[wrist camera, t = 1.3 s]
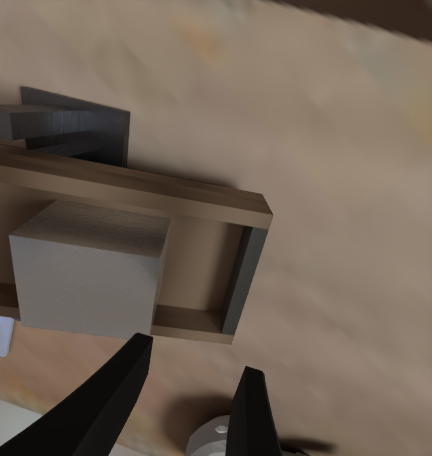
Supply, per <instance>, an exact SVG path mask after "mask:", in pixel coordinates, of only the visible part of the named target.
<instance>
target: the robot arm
mask: <svg viewBox="0 0 432 456" xmlns="http://www.w3.org/2000/svg"><path fill="white" fill-rule="evenodd" d="M14 320H15V319H12V318H10V317H2V316H0V356H1V357H5V356H6V355H7V354H8V351H9V346H10V340H11V335H12V330H13V325H14ZM152 343H153V337H151V336H148V335H145V334H142V333H135V334H134V335H133V336H132V337H131V338H130V340H129V341H128V342H127V343H126V344H125V345H124V346H123V347H122V348H121V349H120V350H119V351H118V352H117V353H116V354H115V355H114V356H113V357H112V358H111V359H110V360H109V361H108V362H106V363H105V364H104V365H103V366H102V367H101V368H100V369H99V370H98V371H97V372H95V373H94V374H93V375H92V376H91V377H90V378H89V379H88V380H87V381H85V382H84V383H83V384H82V385H81V386H80V387H78V388H77V389H76V390H75V391H73V392H72V393H71V394H70V395H69V396H67V397H66V398H65V399H64V400H63V401H61V402H60V403H59V404H58V405H56V406H55V407H54V408H53V409H51V410H50V411H49V412H47V413H46V414H45V415H43V416H42V417H41V418H40V419H38V420H37V421H35V422H34V423H33V424H31V425H30V426H29V427H27V428H26V429H25V430H23V431H22V432H20V433H19V434H17V435H16V436H15V437H13V438H12V439H10V440H9V441H7V442H6V443H4V444H3V445H2V446H0V456H108V455H109V453H110V452H111V450H112V448H113V446H114V444H115V442H116V440H117V438H118V436H119V434H120V433H121V431H122V429H123V427H124V425H125V423H126V421H127V419H128V417H129V415H130V413H131V411H132V410H133V408H134V406H135V404H136V402H137V399H138V397H139V394H140V392H141V390H142V387H143V385H144V382H145V380H146V377H147V375H148V371H149V364H150V357H151V350H152ZM225 456H283V454H282V451H281V447H280V443H279V440H278V436H277V432H276V429H275V425H274V421H273V417H272V412H271V408H270V403H269V399H268V394H267V388H266V382H265V376H264V373H263V371H260V370H257V369H254V368H251V367H248V366H245V369H244V372H243V374H242V377H241V380H240V382H239V385H238V388H237V390H236V393H235V396H234V398H233V401H232V407H231V413H230V418H229V424H228V430H227V439H226V451H225Z"/></svg>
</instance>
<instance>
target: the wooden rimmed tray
mask: <svg viewBox="0 0 432 456" xmlns="http://www.w3.org/2000/svg"><path fill="white" fill-rule="evenodd" d="M56 200H64V201H70V202H75V203H81V204H87V205H93V206H99V207H104V208H110V209H116V210H122V211H128V212H133V213H139V214H145V215H151V216H157V217H162V218H168V219H171V224H170V231H169V237H168V244H167V251H166V258H165V265H164V271H163V278H162V285H161V291H160V295H159V300H158V304H157V308H156V312H155V317H154V321H153V325H152V330H151V334H150V335H156V336H165V337H173V338H181V339H189V340H197V341H205V342H213V343H222V344H230V345H231V344H232V341H233V338H234V335H235V332H236V329H237V325H238V322H239V319H240V316H241V313H242V310H243V307H244V304H245V301H246V298H247V295H248V292H249V289H250V285H251V282H252V279H253V276H254V273H255V270H256V267H257V264H258V261H259V258H260V255H261V252H262V248H263V245H264V242H265V239H266V236H267V233H268V230H269V227H270V224H271V221H272V218H273V213H272V212H271V210H270V208H269V206H268V204H267V202H266V200H265V198H264V196H263V195H262V194H259V193H254V192H249V191H243V190H238V189H233V188H227V187H222V186H217V185H212V184H206V183H201V182H196V181H191V180H185V179H180V178H175V177H170V176H164V175H159V174H154V173H149V172H143V171H138V170H133V169H128V168H122V167H117V166H112V165H106V164H101V163H96V162H91V161H85V160H80V159H75V158H70V157H64V156H59V155H54V154H49V153H43V152H38V151H33V150H28V149H22V148H17V147H12V146H6V145H1V144H0V316H2V317H10V318H18V319H21V317H20V310H19V303H18V296H17V289H16V282H15V275H14V268H13V261H12V254H11V247H10V240H9V235H10V234H11V233H12V232H14V231H15V230H16V229H18V228H19V227H21V226H22V225H23V224H25V223H26V222H27V221H29V220H30V219H32V218H33V217H34V216H36V215H37V214H38V213H40V212H41V211H42V210H44V209H45V208H47V207H48V206H49V205H51V204H52V203H53V202H55V201H56Z"/></svg>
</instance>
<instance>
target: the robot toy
mask: <svg viewBox="0 0 432 456" xmlns="http://www.w3.org/2000/svg"><path fill="white" fill-rule="evenodd" d="M229 418H230V415H226V416H218V417H216V418H214V419H212V420H211V421H209V422H207V423H206V424H204V425H203V426H201V427H200V428H199V429H198V430H197V431H195V432H194V433H193V434H192V435H191V436H190V438H189V441H188V444H187V447H186V452H185V456H225V451H226V439H227V430H228V424H229ZM282 454H283V456H308V455H305V454H301V453H298V452H296V454H294V453H290V452H286V451H282Z"/></svg>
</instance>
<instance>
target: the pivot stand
mask: <svg viewBox="0 0 432 456" xmlns="http://www.w3.org/2000/svg"><path fill="white" fill-rule="evenodd" d="M21 95H22V105H0V137H2V138H5V139H9V140H19V139H26V147H27V149H28V150H33V151H38V152H43V153H49V154H54V155H59V156H64V157H70V158H75V159H80V160H85V161H91V162H96V163H101V164H106V165H112V166H117V167H122V168H127V155H128V139H129V124H130V112H129V111H125V110H121V109H116V108H112V107H108V106H104V105H100V104H96V103H92V102H88V101H83V100H79V99H75V98H71V97H67V96H63V95H59V94H55V93H50V92H46V91H42V90H38V89H34V88H30V87H21ZM12 319H15V320H18V321H21V319H18V318H12Z"/></svg>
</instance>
